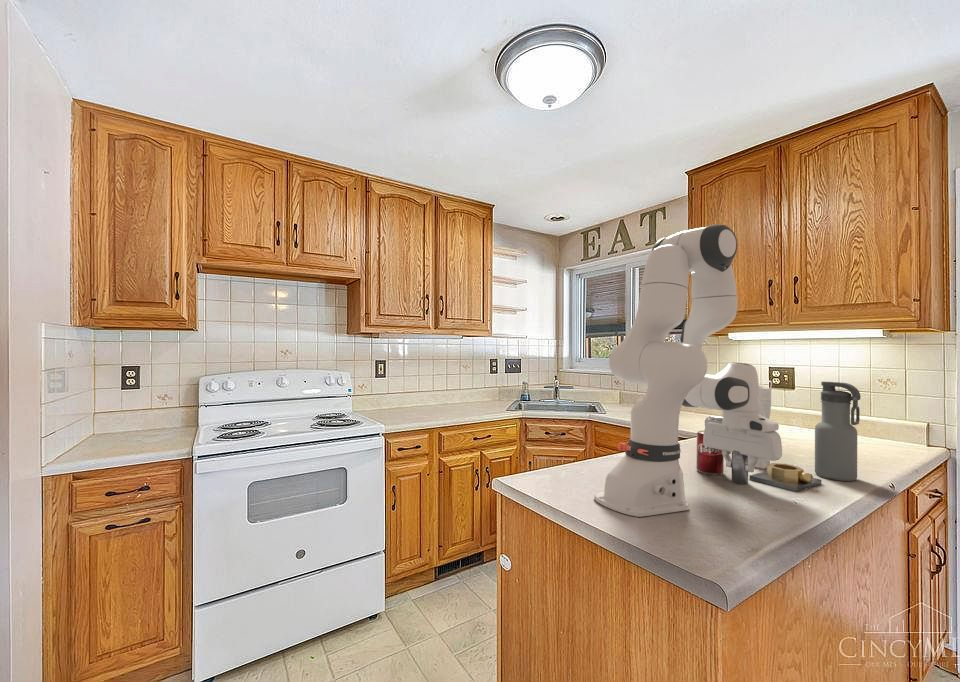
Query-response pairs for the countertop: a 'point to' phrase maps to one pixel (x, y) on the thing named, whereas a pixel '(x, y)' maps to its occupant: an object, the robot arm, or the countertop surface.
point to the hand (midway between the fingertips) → (739, 469)
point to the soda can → (708, 458)
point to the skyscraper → (764, 411)
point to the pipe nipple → (739, 468)
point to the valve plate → (783, 483)
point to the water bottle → (837, 433)
